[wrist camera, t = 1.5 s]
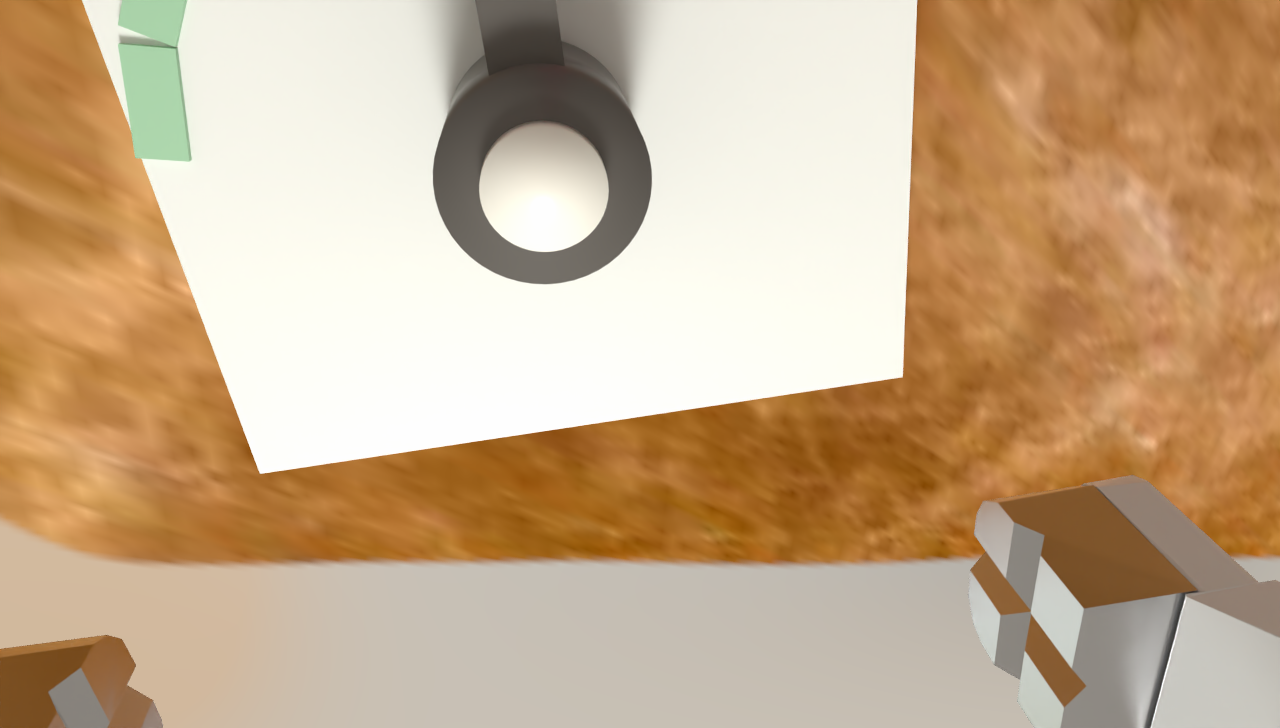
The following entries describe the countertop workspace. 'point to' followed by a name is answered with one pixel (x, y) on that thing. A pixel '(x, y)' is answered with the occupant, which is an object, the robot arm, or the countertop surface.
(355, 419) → the tuner board
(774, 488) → the countertop surface
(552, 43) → the dial
